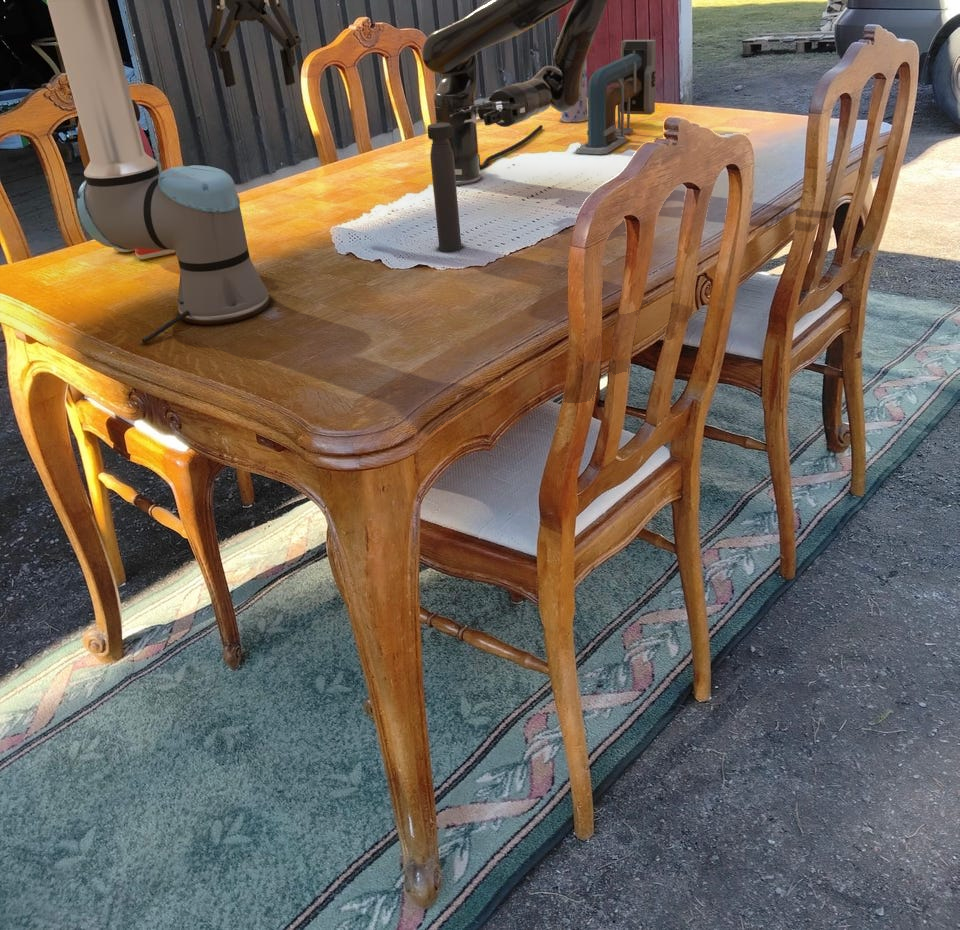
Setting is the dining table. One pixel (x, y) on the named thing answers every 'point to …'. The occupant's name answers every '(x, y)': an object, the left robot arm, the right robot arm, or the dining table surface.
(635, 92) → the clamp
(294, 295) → the dining table surface
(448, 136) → the cap
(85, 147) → the toy
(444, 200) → the bottle
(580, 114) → the aerosol can
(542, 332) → the dining table surface
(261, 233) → the dining table surface
